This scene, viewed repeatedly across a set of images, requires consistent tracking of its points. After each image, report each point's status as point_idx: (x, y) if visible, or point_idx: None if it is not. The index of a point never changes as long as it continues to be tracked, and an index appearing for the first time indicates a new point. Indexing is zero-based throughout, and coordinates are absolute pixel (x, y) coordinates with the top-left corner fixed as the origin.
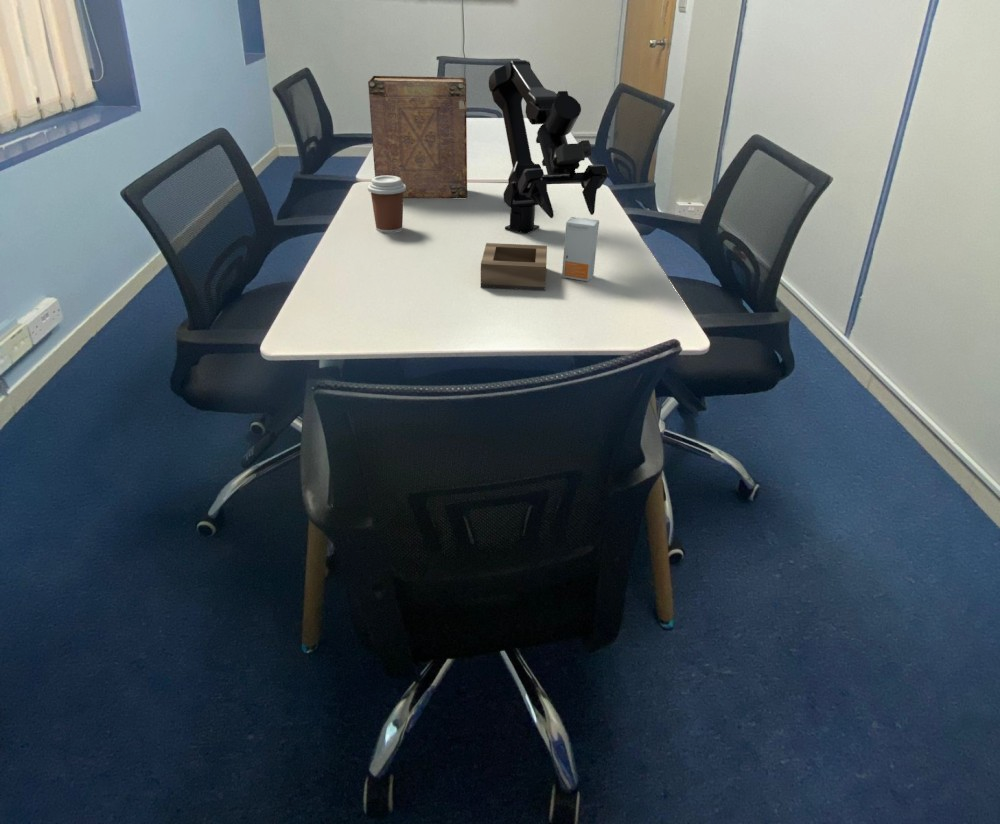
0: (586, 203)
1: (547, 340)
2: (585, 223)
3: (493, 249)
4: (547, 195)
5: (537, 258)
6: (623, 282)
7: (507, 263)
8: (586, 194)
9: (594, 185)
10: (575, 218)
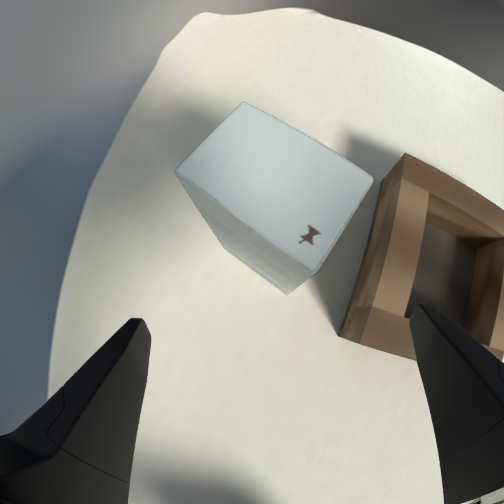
0: (135, 433)
1: (391, 43)
2: (276, 131)
3: (498, 323)
4: (500, 388)
5: (420, 221)
6: (170, 188)
7: (484, 207)
8: (109, 477)
9: (19, 446)
10: (303, 225)
